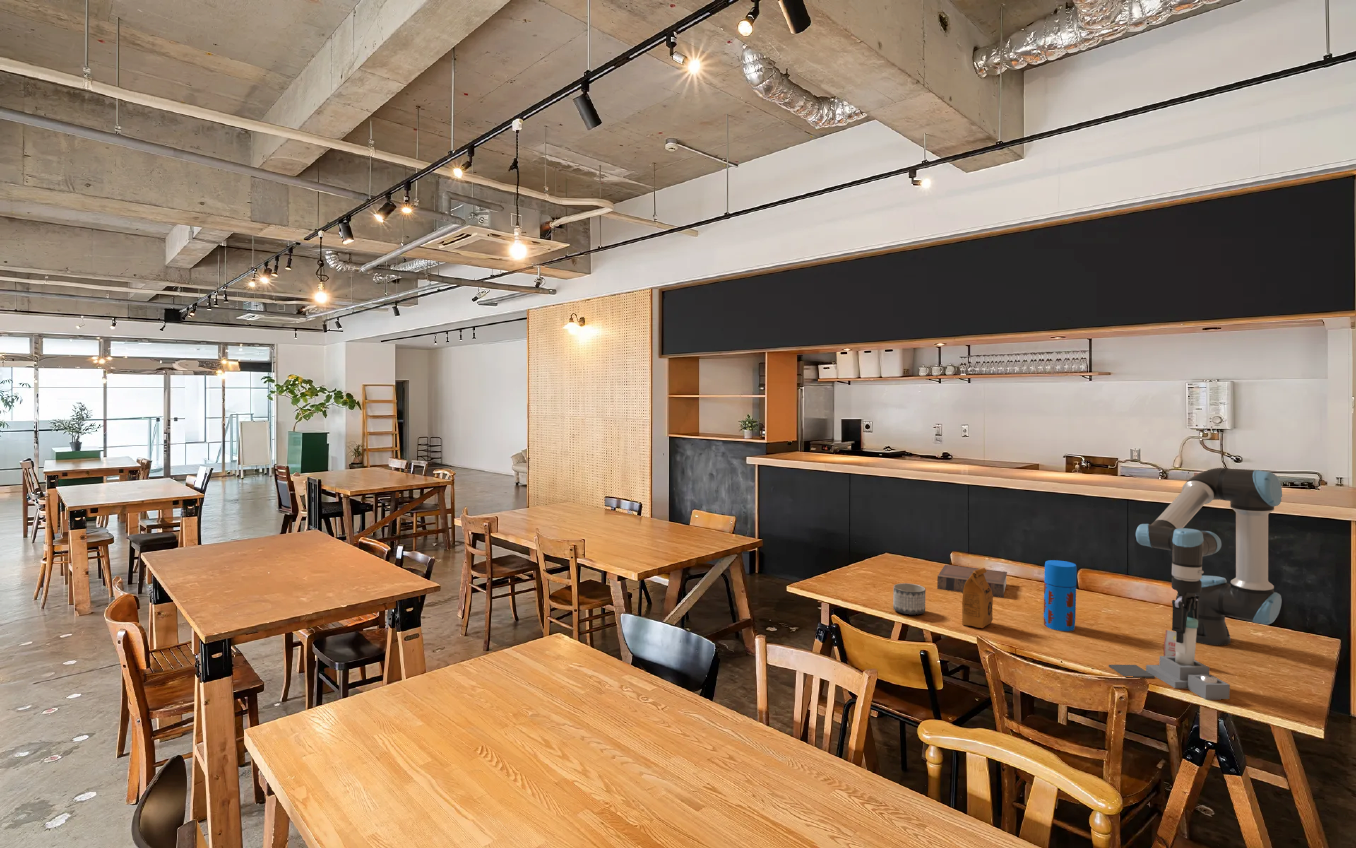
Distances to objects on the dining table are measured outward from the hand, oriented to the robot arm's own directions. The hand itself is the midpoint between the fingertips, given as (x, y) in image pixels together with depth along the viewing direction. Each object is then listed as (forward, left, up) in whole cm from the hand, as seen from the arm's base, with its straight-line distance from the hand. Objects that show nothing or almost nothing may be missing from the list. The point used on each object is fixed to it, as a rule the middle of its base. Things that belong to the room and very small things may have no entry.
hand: (1184, 650), depth 210 cm
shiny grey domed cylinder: (+10, 0, -9) cm, 14 cm away
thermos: (-49, -12, -10) cm, 51 cm away
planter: (-66, -65, -10) cm, 93 cm away
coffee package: (-51, -43, -10) cm, 67 cm away
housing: (+4, 0, -10) cm, 10 cm away
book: (-104, -23, -10) cm, 106 cm away
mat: (-6, -13, -10) cm, 17 cm away
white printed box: (-15, +9, -10) cm, 20 cm away
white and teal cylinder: (0, 0, -6) cm, 6 cm away
